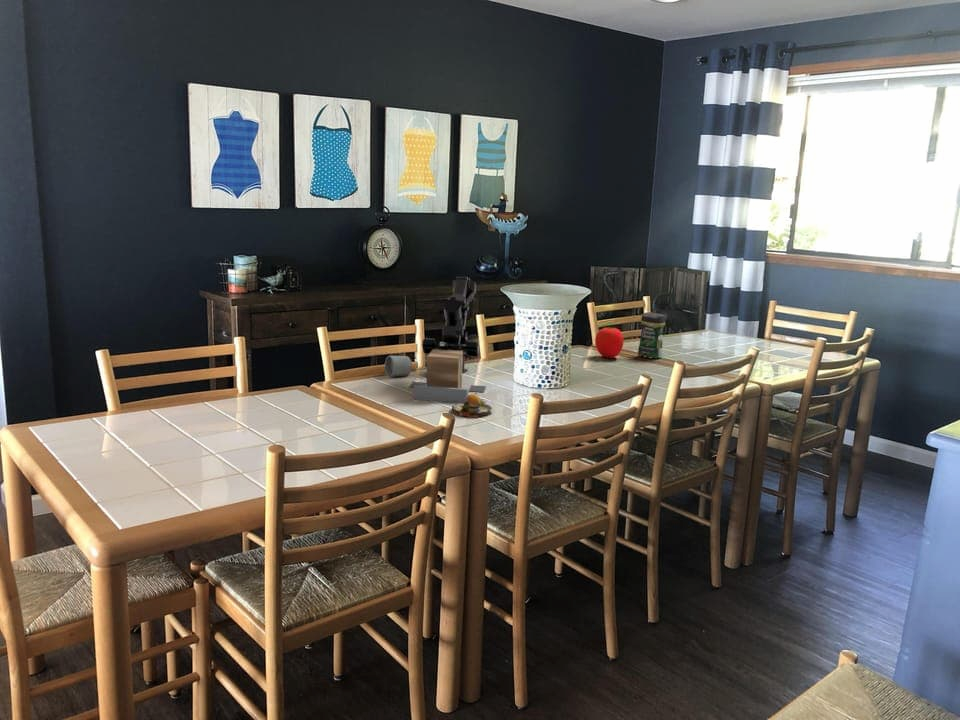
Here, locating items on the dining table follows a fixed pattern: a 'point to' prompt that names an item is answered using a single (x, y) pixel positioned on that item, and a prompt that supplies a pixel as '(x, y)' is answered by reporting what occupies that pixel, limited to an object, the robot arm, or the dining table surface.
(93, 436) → the dining table surface
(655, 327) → the coffee jar
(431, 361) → the walnut block
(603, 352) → the red apple
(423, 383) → the mats
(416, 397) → the grey t-shaped block
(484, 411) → the burger
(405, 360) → the ceramic mug
